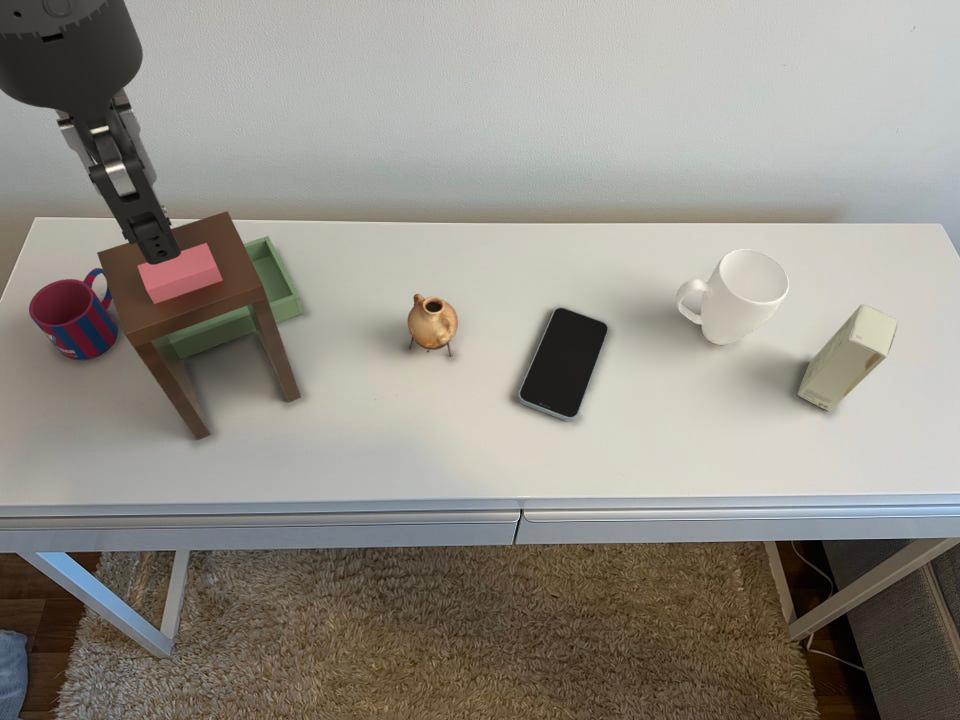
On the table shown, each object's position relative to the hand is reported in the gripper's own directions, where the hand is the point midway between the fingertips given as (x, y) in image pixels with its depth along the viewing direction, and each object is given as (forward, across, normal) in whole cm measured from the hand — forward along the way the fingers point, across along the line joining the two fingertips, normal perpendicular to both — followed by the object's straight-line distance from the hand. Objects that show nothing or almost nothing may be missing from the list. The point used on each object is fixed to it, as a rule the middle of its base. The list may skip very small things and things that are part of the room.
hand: (150, 221), depth 47 cm
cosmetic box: (+34, +25, +63) cm, 76 cm away
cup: (+34, -22, -12) cm, 42 cm away
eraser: (+13, -6, 0) cm, 14 cm away
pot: (+34, -2, +23) cm, 41 cm away
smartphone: (+34, +8, +36) cm, 50 cm away
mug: (+34, +12, +55) cm, 66 cm away
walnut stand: (+34, -7, 0) cm, 34 cm away
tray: (+34, -18, +2) cm, 39 cm away
